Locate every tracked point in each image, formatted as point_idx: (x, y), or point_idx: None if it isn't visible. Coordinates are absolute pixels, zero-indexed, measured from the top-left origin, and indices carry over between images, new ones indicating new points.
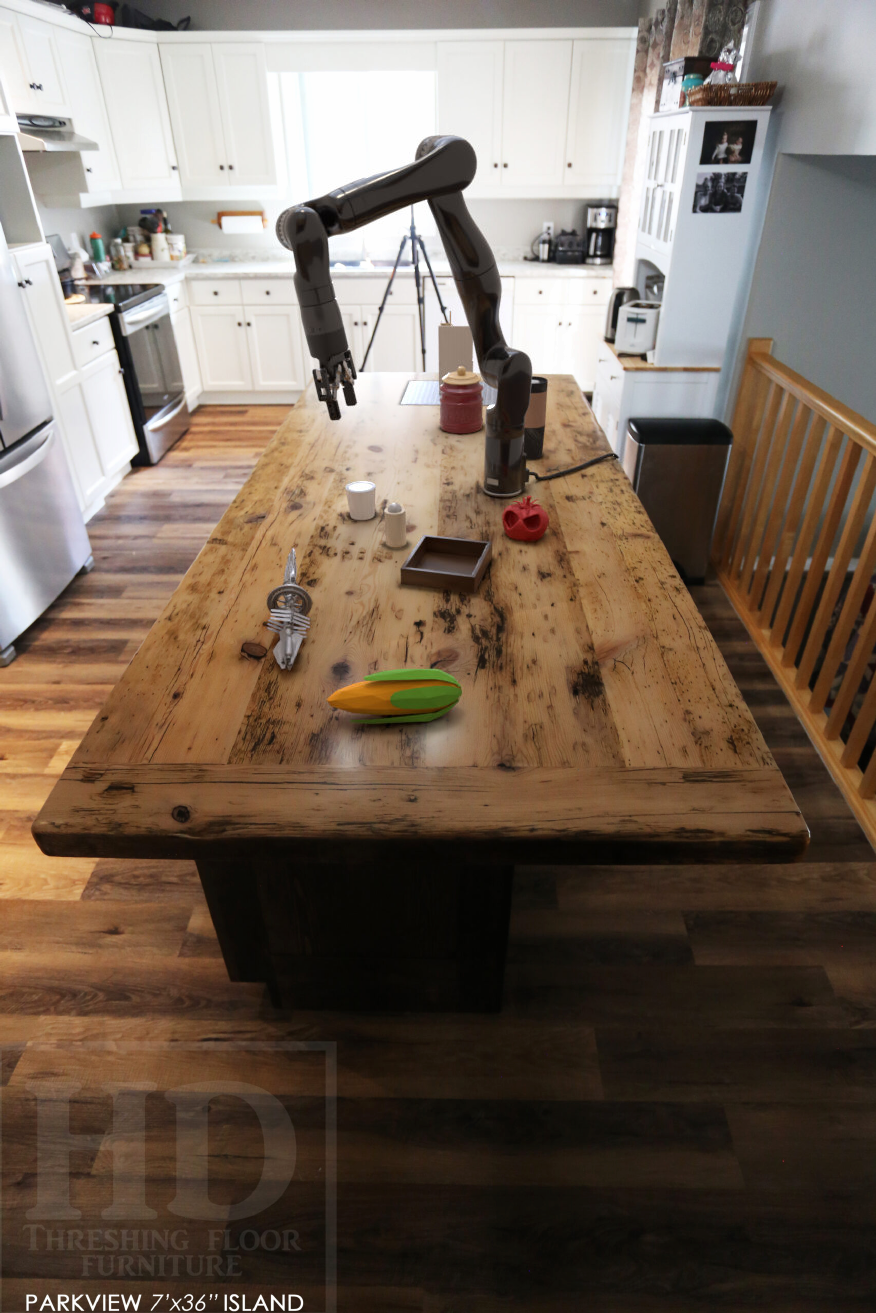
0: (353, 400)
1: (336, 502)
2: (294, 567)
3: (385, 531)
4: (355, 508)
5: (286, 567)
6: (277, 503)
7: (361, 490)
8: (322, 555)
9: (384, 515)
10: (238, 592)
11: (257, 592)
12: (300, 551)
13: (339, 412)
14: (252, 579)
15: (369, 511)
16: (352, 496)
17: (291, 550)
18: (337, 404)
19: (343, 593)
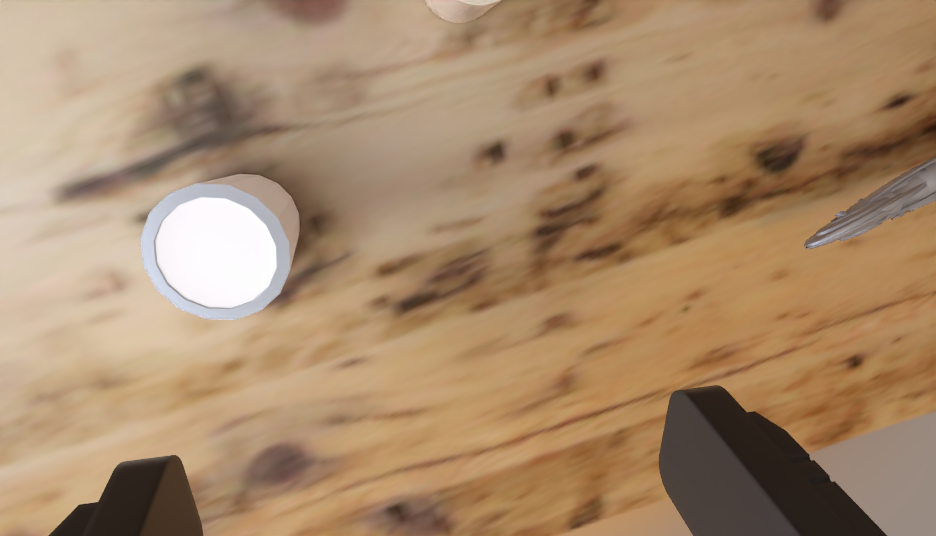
0: (161, 517)
1: (181, 363)
2: (916, 180)
3: (489, 9)
4: (295, 236)
5: (924, 203)
6: (279, 528)
7: (256, 231)
8: (602, 210)
9: (497, 2)
10: (851, 321)
11: (847, 276)
12: (591, 289)
13: (741, 433)
14: (780, 326)
15: (266, 184)
16: (291, 258)
17: (843, 236)
18: (818, 521)
19: (832, 27)
